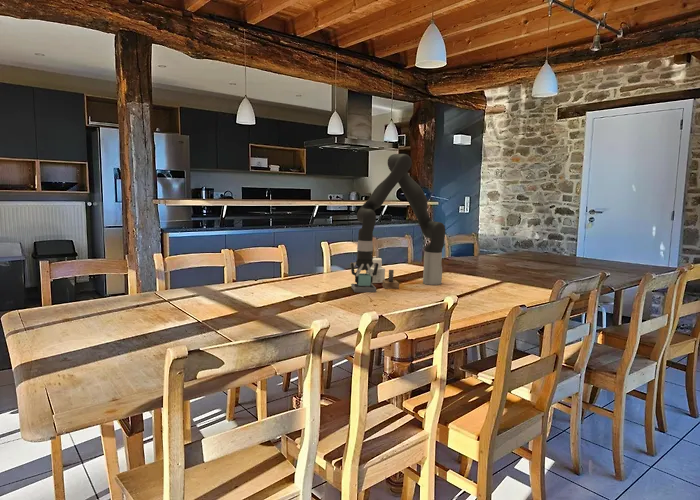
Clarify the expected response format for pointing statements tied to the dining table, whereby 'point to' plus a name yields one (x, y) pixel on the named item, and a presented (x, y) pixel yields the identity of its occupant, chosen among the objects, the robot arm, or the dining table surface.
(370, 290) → the charcoal tray
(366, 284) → the teal collar
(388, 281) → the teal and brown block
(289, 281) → the dining table surface
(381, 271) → the container
